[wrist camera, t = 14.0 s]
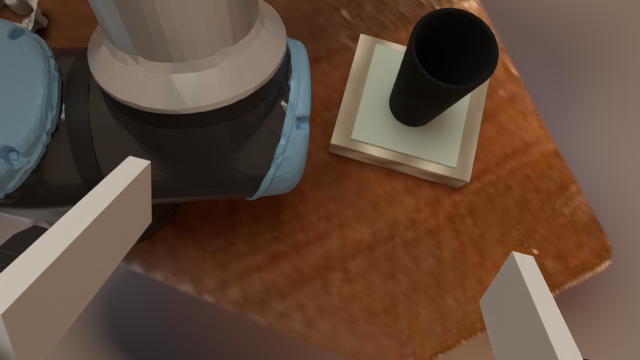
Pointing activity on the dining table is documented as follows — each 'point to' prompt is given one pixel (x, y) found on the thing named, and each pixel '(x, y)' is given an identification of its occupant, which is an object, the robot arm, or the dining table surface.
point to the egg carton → (22, 4)
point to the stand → (392, 136)
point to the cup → (442, 65)
